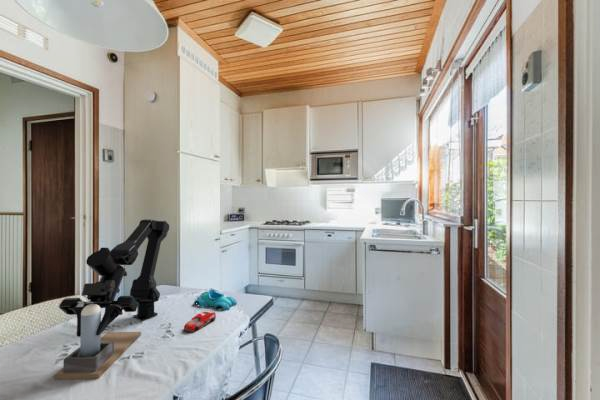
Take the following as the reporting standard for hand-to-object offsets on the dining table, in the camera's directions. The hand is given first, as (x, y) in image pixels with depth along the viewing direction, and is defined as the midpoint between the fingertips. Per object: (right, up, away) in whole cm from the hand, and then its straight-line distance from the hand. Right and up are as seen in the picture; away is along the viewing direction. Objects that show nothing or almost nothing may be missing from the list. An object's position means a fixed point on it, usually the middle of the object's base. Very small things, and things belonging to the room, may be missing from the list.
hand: (87, 335), depth 73 cm
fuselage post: (0, -7, +1) cm, 7 cm away
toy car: (+20, -10, +47) cm, 52 cm away
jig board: (-1, -9, +7) cm, 12 cm away
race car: (+21, -10, +27) cm, 36 cm away
